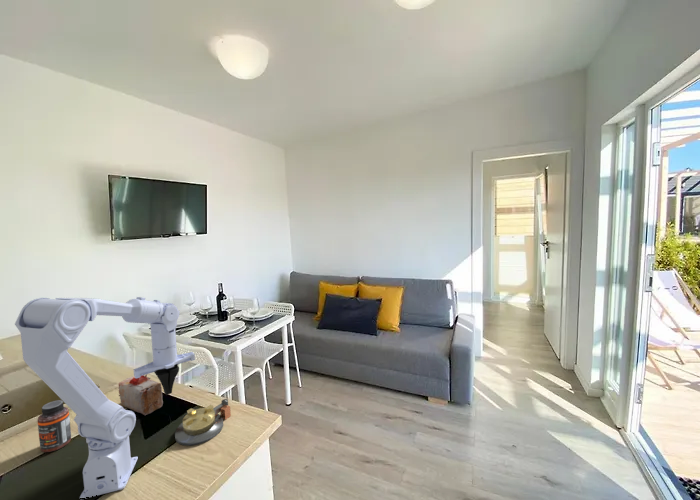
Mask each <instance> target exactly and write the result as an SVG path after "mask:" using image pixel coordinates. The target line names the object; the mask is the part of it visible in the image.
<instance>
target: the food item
mask: <svg viewBox="0 0 700 500" xmlns="http://www.w3.org/2000/svg"><path fill="white" fill-rule="evenodd" d="M147 375H148V374H146V375H143V376H141V377H140V378H137V379H136V378H135V377H134V376H129V377H127V378H126V379H123V380H122V381H120V382H118V397H119V399H120V404H121V405H120V406H122V407H123V408H126V409H130V411H133V412H137V413H138V414H139V413H140V414H142V415H144V416H146V415H149V414H152V413H153V412H154V411H157V410H158V409H161V408H162V407H163V404H164V401H163V390H162V389H163V386H162V384H161V382H157V381H155V380H152V378H151V377H148V376H147Z"/></svg>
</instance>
